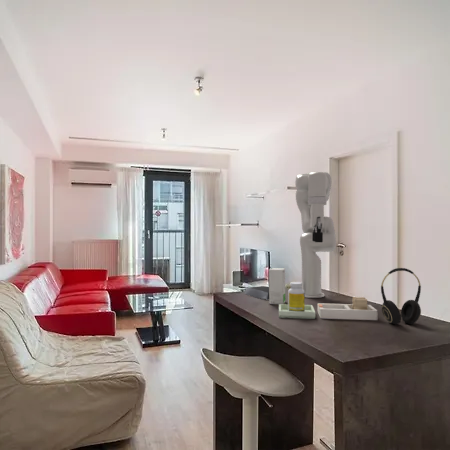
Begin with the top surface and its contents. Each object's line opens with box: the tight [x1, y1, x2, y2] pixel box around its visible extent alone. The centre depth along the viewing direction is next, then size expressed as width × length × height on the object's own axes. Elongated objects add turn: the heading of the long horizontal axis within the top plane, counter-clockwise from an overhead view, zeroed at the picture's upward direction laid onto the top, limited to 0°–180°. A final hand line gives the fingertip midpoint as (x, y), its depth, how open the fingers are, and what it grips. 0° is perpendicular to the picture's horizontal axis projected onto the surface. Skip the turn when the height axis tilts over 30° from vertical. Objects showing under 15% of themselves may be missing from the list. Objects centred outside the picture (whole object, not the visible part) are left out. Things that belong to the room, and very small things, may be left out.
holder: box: [317, 303, 378, 321], centre depth 143 cm, size 10×21×4 cm, turn 82°
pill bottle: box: [287, 281, 306, 311], centre depth 146 cm, size 6×6×12 cm
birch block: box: [352, 296, 368, 310], centre depth 142 cm, size 4×4×7 cm
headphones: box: [380, 267, 422, 325], centre depth 132 cm, size 9×15×20 cm, turn 95°
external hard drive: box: [244, 285, 269, 301], centre depth 185 cm, size 13×19×4 cm
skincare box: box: [268, 267, 286, 306], centre depth 168 cm, size 8×7×16 cm
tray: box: [278, 303, 316, 320], centre depth 146 cm, size 13×14×2 cm
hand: (317, 241), depth 156 cm, fingers open, 9 cm apart
